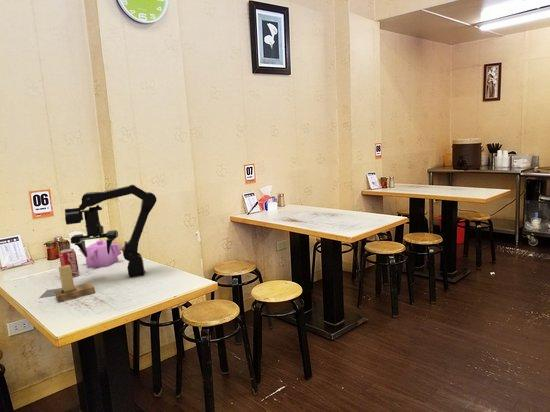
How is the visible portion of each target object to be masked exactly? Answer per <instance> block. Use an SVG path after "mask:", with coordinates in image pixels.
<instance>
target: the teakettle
mask: <svg viewBox="0 0 550 412" xmlns="http://www.w3.org/2000/svg"><path fill="white" fill-rule="evenodd" d="M78 250H79V252H80V253H81V254H82V255H83V257H85V264H86V267H87V268H88V269H93V268H94V269H95V268H96V269H97V268H102V267H103V268H104V267H109V266H112V265H113V264H114V263H116V262H117V261H118V259H119V258H118V257H119V256H120V255H121V254H122V249H121V247H120V243H115V242H114V240H113V241H112V243H111V248H110V253H109V254H108V252H107V242H106V241H104V240H102V239H100V240H97V241H95V242H94V243H92V244H90V245H88V246H86V250H87V255H88V257H86V256H85V255H84V253H83V252H82V250H81V249H80V248H78Z"/></svg>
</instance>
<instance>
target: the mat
mask: <svg viewBox="0 0 550 412" xmlns="http://www.w3.org/2000/svg"><path fill="white" fill-rule="evenodd" d="M61 289H62V287H59V288H53V289H47V290H46V291H44V293H42V294H41V295H40V296H39V297H38V299H45V298H51V297H56V294H55V291H57V290H61Z"/></svg>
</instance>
